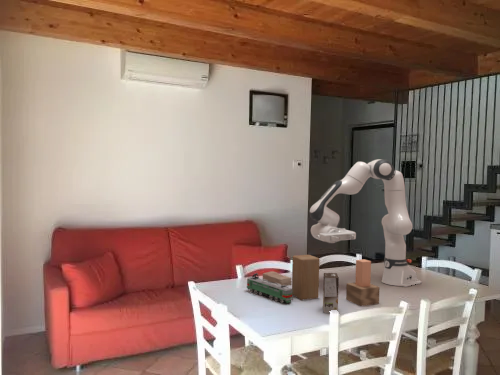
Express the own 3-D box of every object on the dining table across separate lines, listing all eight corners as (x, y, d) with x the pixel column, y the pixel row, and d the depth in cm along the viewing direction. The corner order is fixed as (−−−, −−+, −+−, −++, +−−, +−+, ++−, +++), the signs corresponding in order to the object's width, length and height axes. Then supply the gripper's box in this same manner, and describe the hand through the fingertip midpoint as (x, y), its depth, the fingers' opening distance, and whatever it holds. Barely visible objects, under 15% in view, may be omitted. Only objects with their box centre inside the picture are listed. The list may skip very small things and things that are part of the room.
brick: (292, 285, 237) (292, 276, 237) (280, 287, 232) (280, 278, 232) (273, 278, 250) (273, 270, 250) (261, 281, 245) (261, 272, 245)
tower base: (364, 297, 216) (364, 281, 215) (379, 303, 206) (379, 287, 205) (346, 299, 211) (346, 283, 211) (360, 306, 201) (360, 289, 201)
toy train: (251, 289, 227) (252, 270, 227) (294, 304, 204) (295, 282, 203) (244, 291, 224) (245, 271, 223) (287, 306, 200) (288, 284, 200)
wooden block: (291, 294, 218) (292, 255, 217) (308, 292, 222) (309, 254, 221) (300, 300, 209) (301, 259, 208) (318, 298, 212) (319, 258, 212)
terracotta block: (363, 283, 211) (364, 259, 211) (370, 286, 207) (371, 261, 206) (355, 284, 209) (356, 259, 209) (361, 287, 205) (362, 262, 204)
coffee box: (338, 313, 190) (339, 277, 190) (323, 313, 191) (324, 277, 190) (336, 307, 199) (337, 272, 199) (322, 306, 200) (323, 272, 199)
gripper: (314, 230, 228) (329, 233, 216) (346, 227, 237) (362, 231, 224) (314, 241, 229) (329, 246, 216) (346, 239, 237) (362, 243, 224)
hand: (346, 238), depth 220 cm, fingers open, 8 cm apart
